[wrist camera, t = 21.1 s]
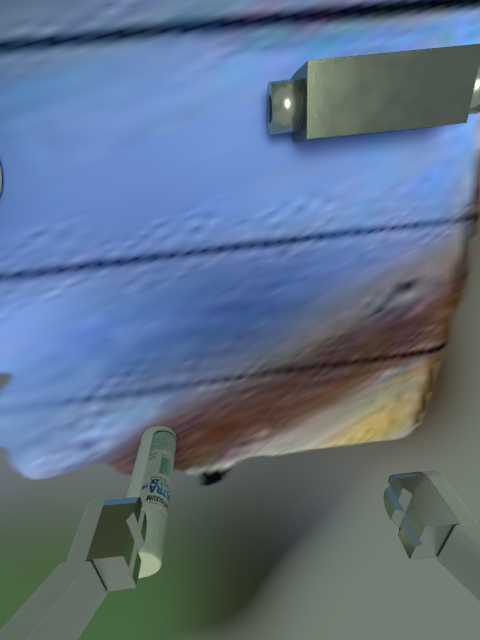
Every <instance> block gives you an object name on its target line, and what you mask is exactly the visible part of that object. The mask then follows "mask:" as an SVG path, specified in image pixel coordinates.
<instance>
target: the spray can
mask: <svg viewBox="0 0 480 640" xmlns="http://www.w3.org/2000/svg"><path fill="white" fill-rule="evenodd" d="M176 441H177V439H176V434H175V432H174V431H173V430H172V429H170V428H168V427H166V426H153V427H150V428H148V429H147V430H145V432H144V433H143V435H142V439H141V443H140V446H139V450H138V454H137V458H136V461H135V465H134V469H133V473H132V476H131V480H130V484H129V488H128V492H127V496H126V498H132V497H140V498H141V500H142V508H141V509H142V510H144V511H145V513H146V518H147V529H146V538H145V544H144V545H143V547H142V548H141V549H140V551H139V555H140V558H141V566H140V571H139V577H138V578H142V577H146V576H149V575H152V574H154V573H155V572H157V571H158V570H159V569H160V567H161V563H162V556H163V547H164V539H165V531H166V523H167V515H168V507H169V498H170V490H171V482H172V474H173V466H174V458H175V450H176Z"/></svg>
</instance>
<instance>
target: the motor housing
mask: <svg viewBox="0 0 480 640" xmlns="http://www.w3.org/2000/svg"><path fill="white" fill-rule="evenodd" d="M479 112H480V44H473V45H463V46H452V47H442V48H431V49H421V50H411V51H400V52H390V53H380V54H369V55H359V56H348V57H338V58H328V59H317V60H308V61H307V62H306V63H305V64H304V65H303V66H302V67H301V68H300V69H299V70H298V71H297V72H296V73H295V74H294V75H293V76H292V80H283V81H272V82H269V84H268V89H267V121H268V129H269V133H270V134H280V133H289V132H293V141H302V140H312V139H322V138H331V137H341V136H351V135H361V134H370V133H380V132H390V131H400V130H409V129H419V128H429V127H437V126H444V125H452V124H460V123H466V122H467V118H468V114H476V113H479Z"/></svg>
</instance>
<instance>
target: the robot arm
mask: <svg viewBox="0 0 480 640" xmlns="http://www.w3.org/2000/svg"><path fill="white" fill-rule="evenodd" d="M1 187H2V174H1V167H0V193H1ZM388 482H389V484H390V486H389V487H388V488H386V489H385V492H384V505H385V508H386V511H387V513H388V515H389V518H390V520H391V521H392V522H393V523H394V524H396V525H397V526H398V527H399V533H398V536H399V538H400V540H401V542H402V544H403V547H404V548H405V550H406V553H407V555H408V557H409V559H424V558H437V560H438V561H439V562H440V563H441V564H442V565H443V566H444V567H445V568H446V569H447V570H448V571H449V572H450V573H451V574H452V575H453V576H454V577H456V579H458V580H459V582H460V583H462V584H463V585H464V586H465V587H466V588H467V589H468V590H469V591H470V592H471V593H472V594H473V595H474V596H475V597H476V598H477V599H478V600H479V601H480V523H477V522H476V521H475V519H474V518H473V517H472V515H471V514H470V512H469V511H468V510H467V508H466V507H465V505H464V504H463V503H462V501H461V500H460V499H459V497H458V496H457V494H456V493H455V492H454V490H453V489H452V488H451V486H450V485H449V483H448V482H447V481H446V479H445V478H444V476H443V475H442V474H441V473H440V472H438V471H435V470H434V471H423V472H411V473H402V474H392V475H391V476H389V480H388ZM141 508H142V500H141V498H140V497H132V498H121V499H110V500H109V499H106V500H96V501H90V502H89V504H88V505H87V507H86V508H85V511H84V514H83V517H82V519H81V522H80V525H79V528H78V530H77V533H76V536H75V538H74V541H73V544H72V547H71V549H70V552H69V555H68V557H67V560H66V563H61V564H59V566H58V567H57V568H56V569H55V570H54V571H53V572H52V573H51V574H50V576H49V577H48V578H47V579H46V580H45V581H44V582H43V583H42V584H41V586H40V587H39V588H38V589H37V590H36V591H35V592H34V593H33V595H32V596H31V597H30V598H29V599H28V600H27V601H26V602H25V604H24V605H23V606H22V607H21V608H20V609H19V610H18V611H17V612H16V614H15V615H14V616H13V617H12V618H11V619H10V620H9V621H8V622H7V624H6V625H5V626H4V627H3V628H2V629H1V630H0V640H78V638H79V637H80V635H81V634H82V632H83V630H84V629H85V627H86V626H87V624H88V623H89V621H90V620H91V618H92V616H93V615H94V613H95V612H96V610H97V609H98V607H99V606H100V604H101V603H102V601H103V600H104V598H105V596H106V595H107V591H115V590H122V589H129V588H136V587H137V582H138V577H139V571H140V566H141V558H140V555H139V551H140V549H141V548H142V547H143V545H144V544H145V538H146V529H147V518H146V513H145V511H144V510H142V509H141Z"/></svg>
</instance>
